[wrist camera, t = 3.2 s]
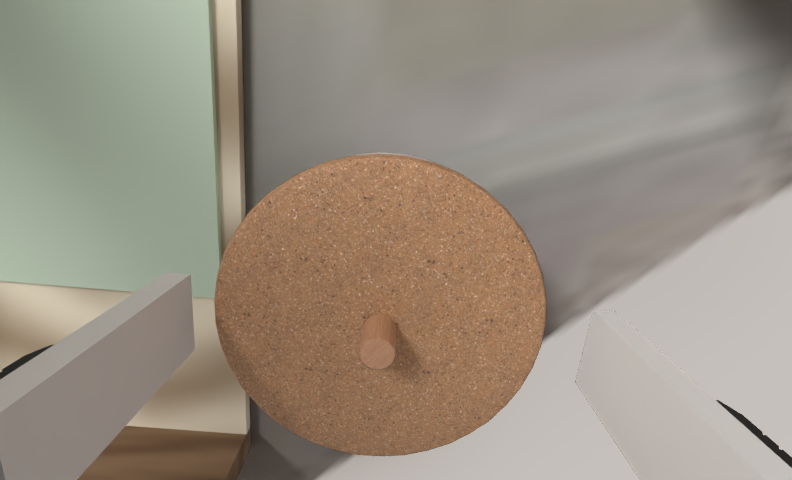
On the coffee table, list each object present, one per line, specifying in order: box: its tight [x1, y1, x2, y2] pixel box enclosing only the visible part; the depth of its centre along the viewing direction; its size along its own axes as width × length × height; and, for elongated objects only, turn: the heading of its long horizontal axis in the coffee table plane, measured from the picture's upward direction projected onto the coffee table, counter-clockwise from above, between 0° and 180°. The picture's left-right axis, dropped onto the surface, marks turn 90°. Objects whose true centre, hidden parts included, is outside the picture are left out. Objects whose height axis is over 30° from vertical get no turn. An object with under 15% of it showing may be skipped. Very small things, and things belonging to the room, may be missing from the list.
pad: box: [0, 0, 222, 298], centre depth 18 cm, size 14×14×1 cm
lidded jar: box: [214, 152, 546, 456], centre depth 16 cm, size 11×11×9 cm
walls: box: [77, 426, 250, 480], centre depth 17 cm, size 26×18×6 cm
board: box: [0, 0, 251, 448], centre depth 20 cm, size 26×18×1 cm
